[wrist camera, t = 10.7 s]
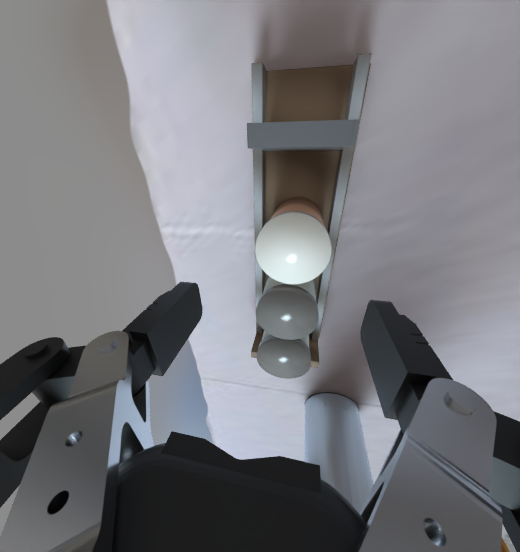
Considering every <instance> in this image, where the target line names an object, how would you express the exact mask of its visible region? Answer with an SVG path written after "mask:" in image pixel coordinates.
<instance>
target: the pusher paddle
mask: <svg viewBox="0 0 520 552" xmlns="http://www.w3.org/2000/svg"><path fill="white" fill-rule="evenodd" d="M359 121H360V119H353V120H324V121H294V122H265V123H247V140H248V148H251V149H258V150H264V151H332V150H341V149H346V148H350V147H355V142H356V137H357V131H358V126H359Z"/></svg>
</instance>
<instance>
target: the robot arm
mask: <svg viewBox="0 0 520 552" xmlns="http://www.w3.org/2000/svg"><path fill="white" fill-rule="evenodd" d="M201 316H202V304H201V298H200V293H199V287H198V285H197V284H196V283H189V282H180V283H179V284H178V285H177V286H175V288H173V289H172V290H171V291H168V292H166V293H164V294H163V295H161V296H159V297H158V298H157V299H156V300H155V301H154V302H153V304H151V305H150V306H148V307H147V309H146V310H144V311H143V312H142V313H141V314H140V315H139V316H138V317H137V318H136V319H134V320H133V322H131V323H130V324H129V325H128V326H127V327H126V328H125V329H124V330H123V331H113V332H109V333H106V334H103V335H101V336H99V337H97V338H95V339H94V340H92V341H91V342H90V343H89V344H88V345H87V346H80V347H71V348H68V347H67V346H66V344H65V342H64V341H63V339H61V338H58V337H55V338H54V337H53V338H47V339H43V340H40V341H37V342H35V343H33V344H30V345H29V346H27V347H25V348H23V349H22V350H20V351H19V352H17V353H16V354H14V355H13V356H12V357H10V358H9V359H7V360H6V361H5V362H3V363H2V364H0V420H1V419H2V418H3V417H4V416H5V415H7V414H8V413H9V412H10V411H11V410H12V409H13V408H14V407H16V406H17V405H18V404H19V403H20V402H21V401H22V400H23V399H25V398H26V397H27V396H28V395H29V394H30V393H31V392H32V393H33V394H34V395H35V396H36V397H37V398H38V399H39V400H40V403H38V404H37V405H36V406H35V407H34V408H33V409H32V410H31V411H30V412H29V413H28V414H27V415H26V416H25V417H24V418H23V419H22V420H21V421H20V422H19V423H18V424H17V425H16V426H15V427H14V428H12V429H11V430H10V431H9V432H8V433H7V434H6V435H5V436H4V437H3V438H2V439H1V440H0V507H1V506H2V505H3V504H4V503H5V501H6V500H7V499H8V498H9V497H10V496H11V494H12V493H13V492H14V491H15V490H16V488H17V487H18V486H19V485H20V486H19V489H18V491H17V494H16V497H15V500H14V502H13V505H12V507H11V510H10V513H9V515H8V518H7V521H6V523H5V526H4V528H3V531H2V534H1V536H0V552H501V538H502V523H503V525H504V527H505V529H506V531H507V533H508V535H509V537H510V539H511V541H512V543H513V545H514V547H515V549H516V551H517V552H520V422H519V421H517V420H514V419H512V418H509V417H507V416H504V415H501V414H499V413H497V412H494V411H493V410H492V409H491V407H490V406H489V405H488V403H487V402H486V401H485V400H484V399H483V398H482V397H481V396H479V395H478V394H477V393H476V392H474V391H473V390H471V389H470V388H468V387H467V386H465V385H463V384H461V383H459V382H456V381H454V380H453V379H452V378H451V376H450V375H449V373H448V372H447V370H446V369H445V367H444V366H443V364H442V363H441V361H440V360H439V358H438V357H437V355H436V354H435V352H434V351H433V349H432V348H431V346H429V345H428V342H427V340H426V339H425V337H423V336H422V335H423V334H422V333H421V332H420V330H419V329H418V327H417V326H416V324H415V323H413V322H412V321H411V320H410V319H408V318H407V317H406V316H405V315H399V314H398V312H397V311H396V309H395V307H394V306H393V304H392V303H391V302H386V301H375V300H371V301H370V302H369V303H368V306H367V310H366V313H365V316H364V320H363V323H362V327H361V342H362V345H363V348H364V351H365V355H366V358H367V361H368V364H369V368H370V371H371V374H372V377H373V381H374V384H375V387H376V390H377V394H378V397H379V400H380V403H381V407H382V410H383V413H384V416H385V418H390V419H395V420H398V422H399V425H400V427H401V430H400V431H399V433H398V435H397V437H396V439H395V442H394V444H393V446H392V448H391V450H390V452H389V454H388V457H387V459H386V461H385V463H384V465H383V467H382V469H381V472H380V474H379V476H378V478H377V480H376V482H375V484H374V486H373V481H372V476H371V471H370V466H369V461H368V456H367V451H366V446H365V441H364V436H363V431H362V426H361V421H360V416H359V411H358V408H357V405H356V404H355V403H354V402H353V401H352V400H350V399H348V398H347V397H344V396H342V395H338V394H331V393H322V394H317V395H314V396H312V397H310V398H309V399H308V400H307V401H306V404H305V462H303V461H299V460H294V459H290V458H285V457H281V456H277V457H267V458H256V459H246V460H239V459H236V458H234V457H233V456H231V455H229V454H228V453H226V452H225V451H223V450H221V449H220V448H218V447H217V446H215V445H214V444H212V443H210V442H209V441H207V440H206V439H203V438H198V437H194V436H190V435H185V434H181V433H177V432H171V434H170V436H169V438H168V440H167V442H166V443H164V444H160V445H156V446H154V443H153V439H152V435H151V428H150V405H149V404H150V402H149V401H150V400H149V383H148V379H149V378H150V376H151V375H152V374H154V375H159V376H163V375H164V373H165V372H166V371H167V369H168V368H169V366H170V365H171V363H172V362H173V360H174V359H175V357H176V356H177V354H178V352H179V351H180V350H181V348H182V347H183V345H184V344H185V342H186V340H187V339H188V337H189V336H190V334H191V333H192V331H193V330H194V328H195V327H196V325H197V324H198V322H199V321H200V319H201Z"/></svg>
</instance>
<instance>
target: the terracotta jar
mask: <svg viewBox="0 0 520 552" xmlns="http://www.w3.org/2000/svg"><path fill="white" fill-rule="evenodd" d="M255 252H256V258H257V261H258V263H259V265H260V267H261V268H262V270H263V271H264V272H265V273H266V274H267V275H268V276H270V277H271V278H273V279H274V280H276V281H279V282H282V283H286V284H301V283H305V282H308V281H311V280H313V279H314V278H316V277H317V276H319V275H320V274H321V273H322V272H323V271H324V269H325V268H326V267H327V265H328V263H329V260H330V257H331V242H330V238H329V234H328V232H327V230H326V228H325V226H324V222H323V218H322V214H321V211H320V209H319V207H318V206H317V205H316V204H315V203H314V202H313V201H311V200H310V199H307V198H304V197H292V198H289V199H287V200H285V201H284V202H282V203H281V204H280V205H279V206H278V207H277V209H276V210H275V212H274V214H273V215H272V217H271V219H270V220H269V221H268V222H267V223H266V224H265V225H264V227H263V228H262V230H261V231H260V233H259V235H258V237H257V240H256V245H255Z"/></svg>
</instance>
